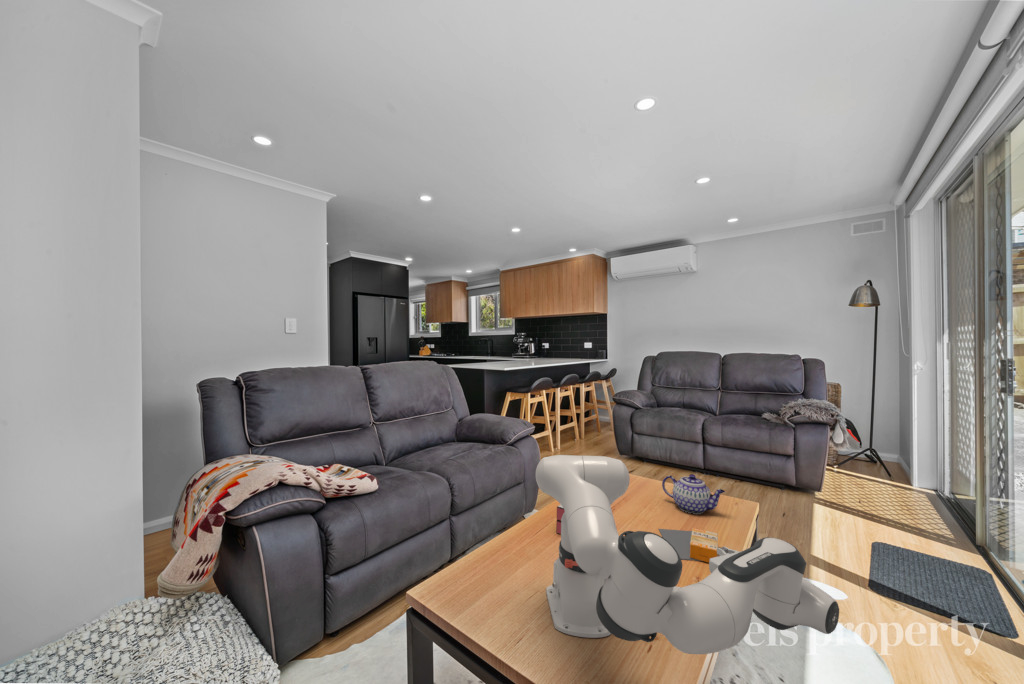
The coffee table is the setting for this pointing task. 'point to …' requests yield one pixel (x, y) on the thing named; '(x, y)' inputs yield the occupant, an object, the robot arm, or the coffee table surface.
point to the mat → (679, 541)
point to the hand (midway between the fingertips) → (720, 549)
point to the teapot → (692, 494)
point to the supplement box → (703, 545)
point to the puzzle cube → (559, 518)
